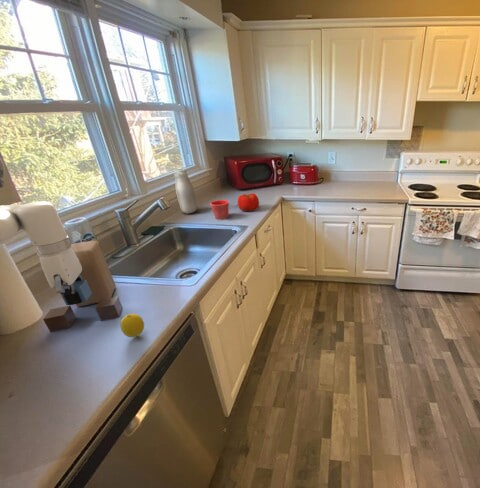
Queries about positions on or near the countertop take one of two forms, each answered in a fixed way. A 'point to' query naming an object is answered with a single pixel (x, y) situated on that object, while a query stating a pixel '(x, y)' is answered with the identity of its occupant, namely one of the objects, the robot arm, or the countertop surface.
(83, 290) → the blue block
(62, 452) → the countertop surface
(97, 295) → the block
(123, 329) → the lemon
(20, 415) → the countertop surface
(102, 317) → the block right
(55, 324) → the block left
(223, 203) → the flower pot
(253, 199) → the tomato
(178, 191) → the glass bottle
